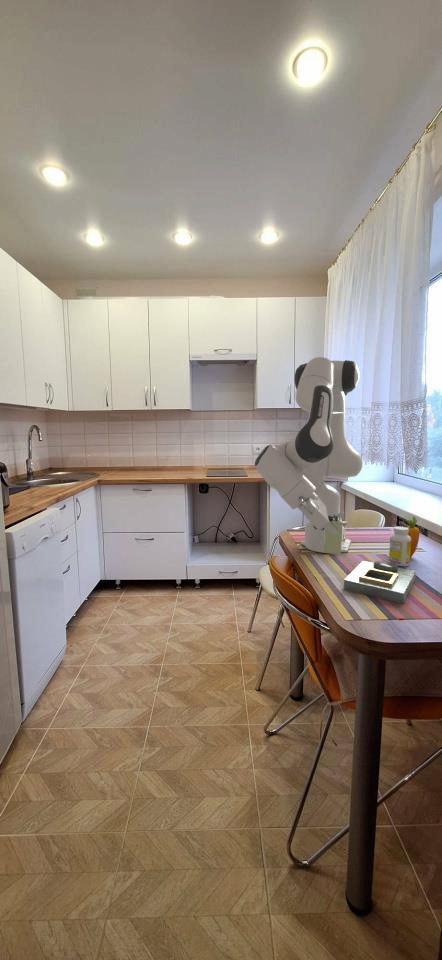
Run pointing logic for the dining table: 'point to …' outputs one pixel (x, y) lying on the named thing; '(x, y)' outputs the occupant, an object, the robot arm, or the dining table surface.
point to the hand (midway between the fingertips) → (335, 530)
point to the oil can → (334, 542)
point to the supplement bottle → (400, 546)
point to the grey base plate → (381, 580)
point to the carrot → (413, 535)
